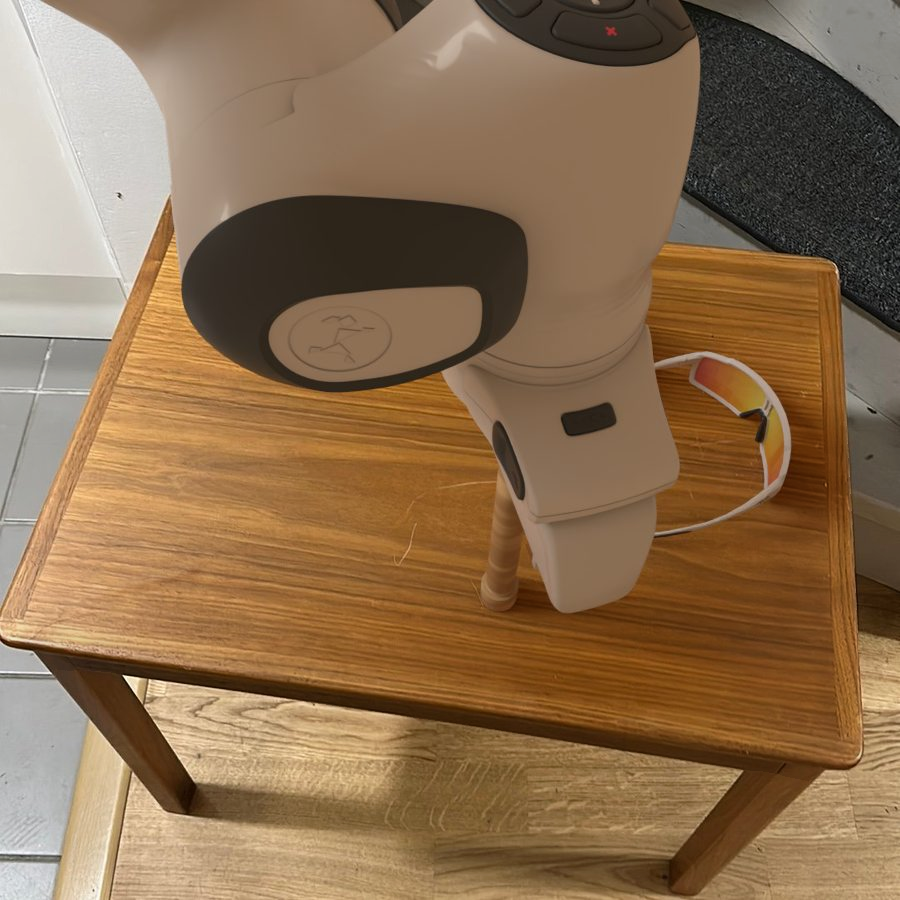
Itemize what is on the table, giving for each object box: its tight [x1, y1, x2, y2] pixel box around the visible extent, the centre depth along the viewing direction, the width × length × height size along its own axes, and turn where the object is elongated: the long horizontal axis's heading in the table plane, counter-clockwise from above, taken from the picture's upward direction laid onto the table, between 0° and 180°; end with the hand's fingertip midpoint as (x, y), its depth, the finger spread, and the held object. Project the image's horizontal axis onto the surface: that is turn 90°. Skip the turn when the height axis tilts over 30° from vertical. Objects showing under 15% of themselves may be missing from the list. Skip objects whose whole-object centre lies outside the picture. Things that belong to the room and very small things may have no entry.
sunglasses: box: [653, 351, 792, 539], centre depth 70 cm, size 14×15×5 cm
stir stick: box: [479, 465, 525, 613], centre depth 57 cm, size 3×3×20 cm
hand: (516, 483), depth 52 cm, fingers open, 8 cm apart
